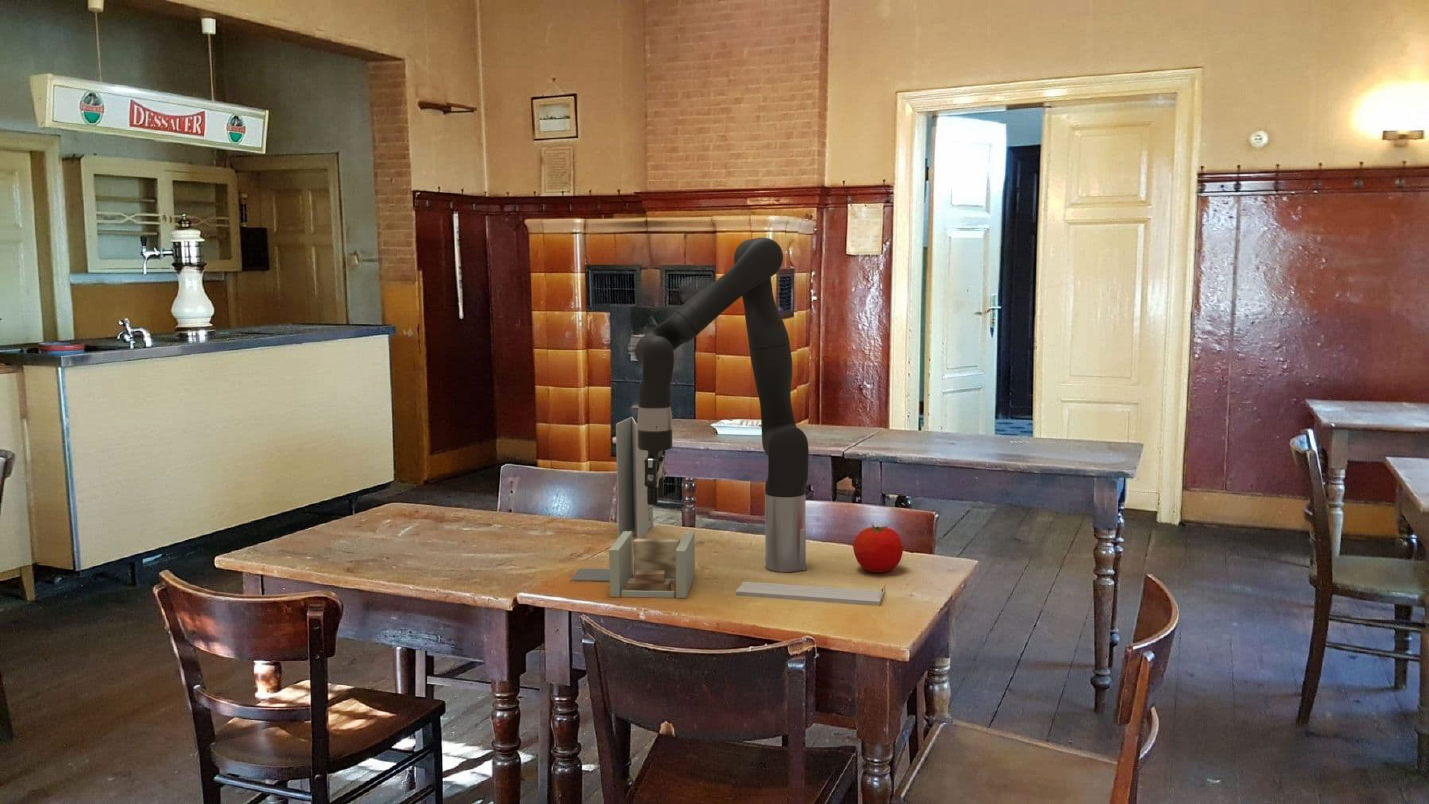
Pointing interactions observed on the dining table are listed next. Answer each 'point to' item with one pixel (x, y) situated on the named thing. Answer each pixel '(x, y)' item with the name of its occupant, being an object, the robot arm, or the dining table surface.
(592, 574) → the mat
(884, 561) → the tomato
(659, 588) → the offcut bottom
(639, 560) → the tan wooden slab
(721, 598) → the dining table surface
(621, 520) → the brochure
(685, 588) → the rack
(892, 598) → the dining table surface
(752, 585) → the baseboard
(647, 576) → the offcut top
